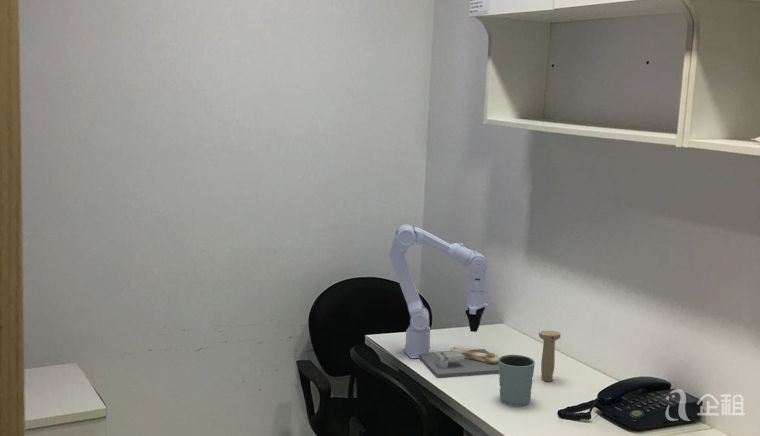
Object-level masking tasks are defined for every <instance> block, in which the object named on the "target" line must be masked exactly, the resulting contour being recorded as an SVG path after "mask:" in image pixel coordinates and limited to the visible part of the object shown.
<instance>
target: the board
mask: <svg viewBox="0 0 760 436" xmlns="http://www.w3.org/2000/svg"><path fill="white" fill-rule="evenodd" d="M469 350H470V351H475V352H480V353H485V354H490V352H489V351H488V350H487V349H485V348H477V349H469ZM436 352H437V351H433V352H430V351H429V353H427V354H422V355H419V358H418V359H419V360H420V361H421V363H423V365H425V366H426V368H427V369H428V370H429V371H430V372H431V373H432V374H433V376H435V377H436V378H437V379H441V378H456V377H471V376H483V375H499V363H497V364H489V363H486V362H483V361H478V360H474V359H469V358H464V360H454V361H448V368H443V369H440V368H439V367H438V366H437V365H436V364H435V353H436ZM443 352H450V350H447V351H443Z"/></svg>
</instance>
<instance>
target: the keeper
mask: <svg viewBox="0 0 760 436" xmlns="http://www.w3.org/2000/svg"><path fill="white" fill-rule="evenodd" d="M435 352H436V353H435V364H436V365H437V366H438V367H439V368H440V369H443V368H448V361H454V360H464V358H465V356H464V355H463V354H462V353H461V352H459V351H452V352H444V351H435Z"/></svg>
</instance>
